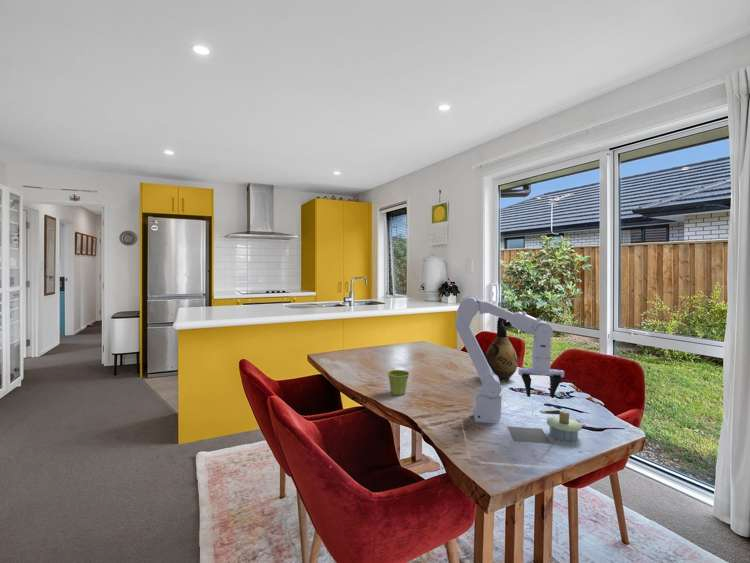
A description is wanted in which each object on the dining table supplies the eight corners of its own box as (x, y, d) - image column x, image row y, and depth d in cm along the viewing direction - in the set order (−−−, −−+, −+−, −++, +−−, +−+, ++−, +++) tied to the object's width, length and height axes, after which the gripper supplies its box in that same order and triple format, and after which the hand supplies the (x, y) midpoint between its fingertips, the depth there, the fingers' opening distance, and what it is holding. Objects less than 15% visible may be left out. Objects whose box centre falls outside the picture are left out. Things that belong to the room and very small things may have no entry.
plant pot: (407, 397, 164) (408, 376, 164) (385, 395, 166) (385, 375, 166) (410, 390, 174) (410, 370, 173) (388, 389, 175) (389, 369, 175)
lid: (552, 430, 124) (553, 417, 124) (542, 418, 134) (543, 406, 133) (586, 432, 123) (587, 419, 122) (574, 419, 132) (575, 407, 132)
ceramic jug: (521, 383, 186) (523, 319, 185) (488, 383, 186) (489, 318, 185) (510, 373, 203) (512, 314, 202) (479, 373, 203) (481, 313, 202)
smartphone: (568, 428, 136) (568, 425, 136) (539, 412, 151) (539, 409, 151) (586, 427, 138) (586, 424, 138) (556, 410, 153) (556, 408, 153)
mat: (514, 442, 124) (514, 440, 124) (507, 428, 135) (507, 426, 135) (551, 445, 123) (551, 443, 123) (541, 430, 134) (541, 428, 133)
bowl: (554, 441, 125) (554, 429, 125) (546, 431, 133) (546, 419, 133) (581, 443, 124) (582, 430, 124) (572, 432, 132) (572, 420, 132)
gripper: (522, 358, 134) (520, 399, 134) (568, 360, 132) (566, 401, 133) (517, 354, 141) (516, 392, 141) (560, 355, 139) (559, 394, 140)
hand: (540, 396), depth 137 cm, fingers open, 7 cm apart
